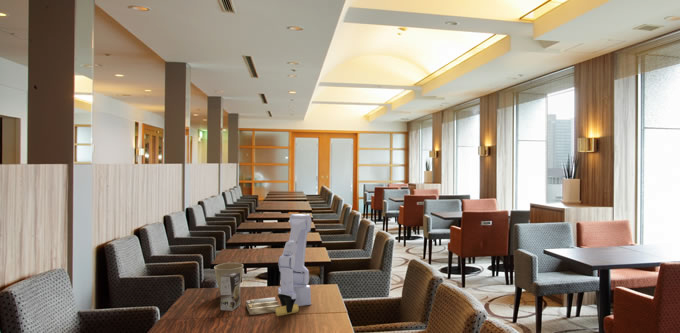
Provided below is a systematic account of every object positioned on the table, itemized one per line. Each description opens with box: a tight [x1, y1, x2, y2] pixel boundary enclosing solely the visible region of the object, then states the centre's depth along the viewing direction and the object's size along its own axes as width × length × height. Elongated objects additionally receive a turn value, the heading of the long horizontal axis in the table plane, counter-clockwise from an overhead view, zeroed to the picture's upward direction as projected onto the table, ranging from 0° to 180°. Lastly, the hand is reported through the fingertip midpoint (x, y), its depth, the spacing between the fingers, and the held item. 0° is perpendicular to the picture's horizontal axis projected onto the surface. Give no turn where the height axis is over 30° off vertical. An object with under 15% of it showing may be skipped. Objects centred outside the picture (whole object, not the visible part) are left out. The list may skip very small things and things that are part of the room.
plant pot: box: [213, 262, 244, 294], centre depth 236 cm, size 15×15×16 cm
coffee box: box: [220, 272, 241, 312], centre depth 217 cm, size 9×6×16 cm
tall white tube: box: [253, 297, 277, 304], centre depth 219 cm, size 10×4×4 cm, turn 109°
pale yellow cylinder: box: [274, 304, 300, 317], centre depth 208 cm, size 10×4×4 cm, turn 124°
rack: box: [245, 299, 281, 315], centre depth 216 cm, size 14×14×3 cm
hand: (287, 310), depth 208 cm, fingers closed on pale yellow cylinder, 4 cm apart
